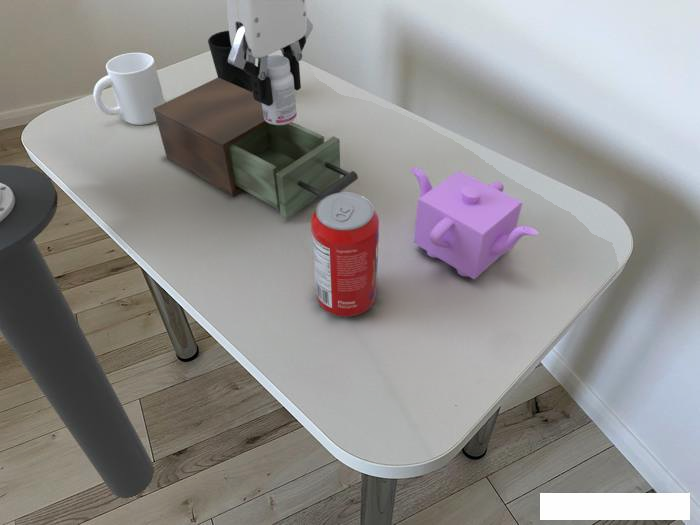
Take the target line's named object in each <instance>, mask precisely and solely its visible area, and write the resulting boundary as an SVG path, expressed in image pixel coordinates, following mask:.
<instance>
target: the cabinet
mask: <svg viewBox="0 0 700 525" xmlns="http://www.w3.org/2000/svg"><path fill="white" fill-rule="evenodd" d="M154 113H155V116H156V120H157V121H156V123H157V127H158V131H159V134H160V138H161V142H162V146H163V149H164V153H165V157H166V159H167V160H169V161H170V162H172V163H174V164H175V165H177V166H179V167H181V168H182V169H184V170H186V171H188V172H189V173H191V174H193V175H194V176H196V177H198V178H200V179H202V180H203V181H205V182H207V183H208V184H210V185H212V186H214V187H215V188H217V189H219V190H221V191H222V192H224V193H226V194H227V195H229V196H231V197H235V195H237V194H239V193H240V192H242V191H244V190H243V189H241V188H239V187H238V186H236V185H234V179H233V174H232V168H231V163H230V157H229V152H228V146H230V145H232V144H233V143H235V142H237V141H239V140H240V139H242V138H244V137H246V136H247V135H249V134H251V133H253V132H254V131H256V130H258V129H259V128H261V127H263V126H265V125H266V124H268V122H266V121H265V119H264V116H263V109H262V103H261V102H258V101H256V100H255V99H254V96H253V93H252V92H250V91H248V90H245V89H243V88H241V87H239V86H236V85H234V84H232V83H230V82H227V81H225V80H223V79H221V78H218V77H216V78H213V79H212V80H210V81H207V82H205V83H203V84H201V85H199V86H197V87H195V88H193V89H191V90H189V91H187V92H185V93H182V94H181V95H179V96H177V97H174V98H172V99H171V100H168V101H165V103H164V104H162V105H160V106H158V107H156V108H154Z"/></svg>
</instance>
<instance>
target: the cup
mask: <svg viewBox="0 0 700 525" xmlns="http://www.w3.org/2000/svg"><path fill="white" fill-rule="evenodd" d="M207 43H208V47H209V51H210V54H211V58H212V61H213V65H214V69H215V72H216V75H217V78H221V79H223V80H225V81H227V82H230V83H232V84H234V85H236V86H239V87H241V88H243V89H245V90H248V91H250V92H252V93H253V90H252V83H251V76H250V75H249V74H246V72H244V71H243V70H242V69H240V68H238V67H236V66H233V65H231V64H229V63H228V57H229V54H230V51H231V48H232V46H231V41H230V35H229V30H224V31H220V32H216V33H214V34H212V35H210V36H209V37H208V39H207ZM246 52H247V48H246V51H245V54H244V59H245V60H246Z"/></svg>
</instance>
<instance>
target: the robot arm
mask: <svg viewBox="0 0 700 525" xmlns="http://www.w3.org/2000/svg"><path fill="white" fill-rule="evenodd" d="M226 13H227V25H228V31H229V35H230V41H231V46H232V48H231V51H230V54H229V57H228V63H229V64H231V65H233V66H236V67H238V68H240V69H242V70H243V71H244V72H246V74H249V75H250V76H251V83H252V90H253V96H254V99H255V100H256V101H258V102H261V103H263V104H265V105H267V106H270V105H272V104H273V97H272V88H271V80H270V78H269V77H267V76H266V74H267V62H268V56H270V55H271V54H273V53H275V52H278V51H281V55H282V56H284V57H286V58H288V59H289V63H290V72H291V73H292V75H293V78H294V90H295V91H299V90H301V88H302V84H301V69H300V62H301V61H302V59H303V50H304V47H305V46H306V43H307V39H308V38H309V36H310V34H311V32H312V31H313V29H314V25H313V23H312V22H311V20H310V19H309V17H308V16H307V4H306V0H226ZM246 48H247V52H246V60H245V59H244V54H245V51H246ZM256 59H257V65H256ZM14 205H15V196H14V194H13V192H12V190H11V189H10V188H9V187H8V186H6V185H5V184H2V183H0V222H1V221H2V220H3V219H4V218H6V217H7V216H8V214H9V213H10V212H11V211H12V209H13V207H14Z"/></svg>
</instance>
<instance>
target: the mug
mask: <svg viewBox="0 0 700 525" xmlns="http://www.w3.org/2000/svg"><path fill="white" fill-rule="evenodd" d="M105 70H106V72H107V75H105V76H102V78H100V79H99V80H98V81H97V82H96V84H95V85H94V87H93V99H94V103H95V105H96V107H97V109H98V110H99V111H101V112H102V113H103V114H105V115H108V116H119V115H121V117H122V119H123V120H124V121H125V122H126V123H129V124H131V125H136V126H144V125H149V124H153V123H157V120H156V116H155V113H154V108H156V107H158V106H160V105H162V104H164V103H166V101H165V98H164V93H163V90H162V85H161V81H160V78H159V73H158V70H157V65H156V62H155V58H154V57H153V56H152V55H150V54H149V53H145V52H128V53H122V54H119V55H117V56H114V57H113V58H111V59H109V60H108V61H107V62H106V64H105ZM110 85H111V88H112V91H113V94H114V98H115V100H116V103H117V106H115V107H109V106H107V105H106V104H105V103H104V101H103V97H102V96H103V95H102V94H103V91H104V89H105V88H106V87H108V86H110Z"/></svg>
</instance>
